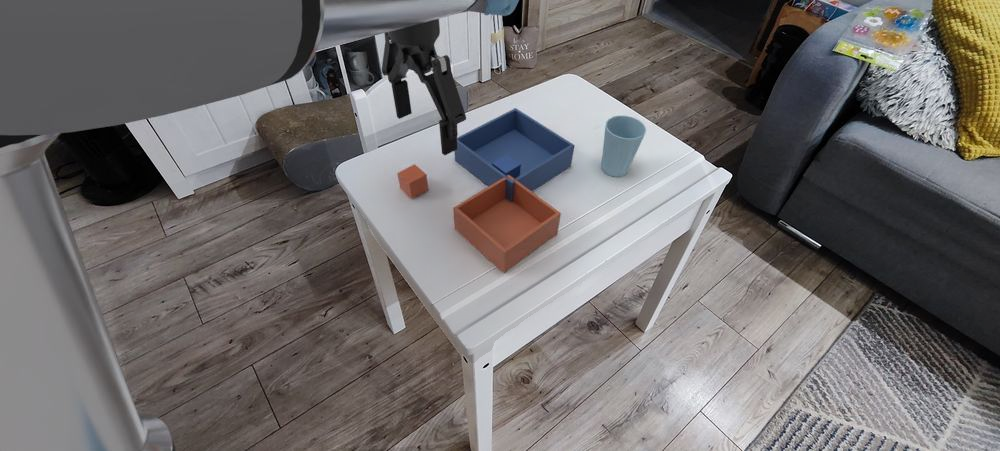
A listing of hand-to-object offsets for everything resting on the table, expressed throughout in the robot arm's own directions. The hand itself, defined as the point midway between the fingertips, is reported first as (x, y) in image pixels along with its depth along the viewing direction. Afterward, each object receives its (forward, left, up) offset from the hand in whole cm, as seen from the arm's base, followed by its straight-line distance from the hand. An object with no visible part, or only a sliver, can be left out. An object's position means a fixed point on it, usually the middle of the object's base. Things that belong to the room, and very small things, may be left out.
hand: (426, 132), depth 80 cm
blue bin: (+17, -5, -13) cm, 22 cm away
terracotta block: (-3, +2, -13) cm, 14 cm away
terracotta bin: (+3, -18, -13) cm, 22 cm away
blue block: (+12, -8, -13) cm, 19 cm away
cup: (+32, -20, -13) cm, 40 cm away
